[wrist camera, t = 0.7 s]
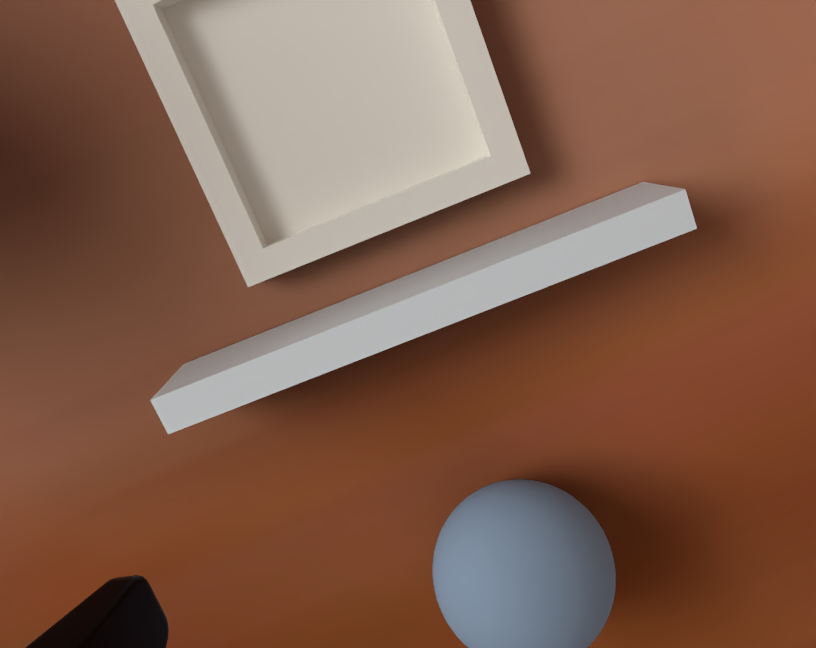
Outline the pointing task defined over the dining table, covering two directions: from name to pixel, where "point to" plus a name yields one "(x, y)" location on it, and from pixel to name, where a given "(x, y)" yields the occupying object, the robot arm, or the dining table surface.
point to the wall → (424, 302)
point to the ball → (523, 569)
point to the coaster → (326, 116)
